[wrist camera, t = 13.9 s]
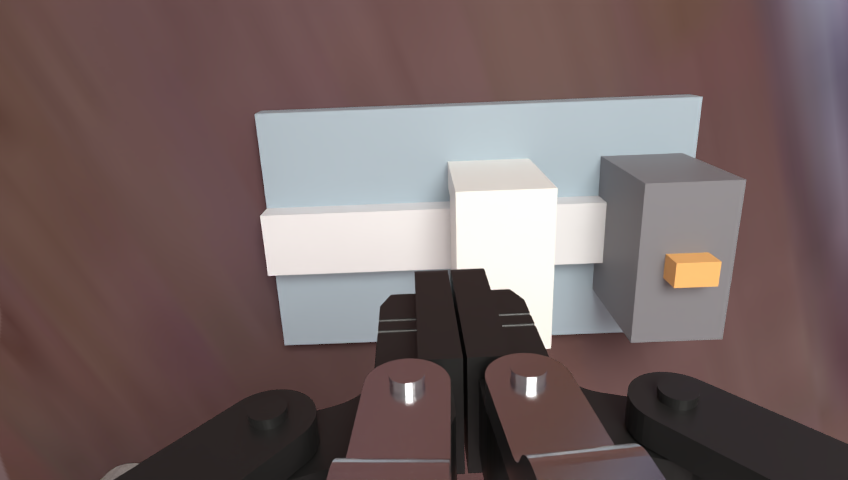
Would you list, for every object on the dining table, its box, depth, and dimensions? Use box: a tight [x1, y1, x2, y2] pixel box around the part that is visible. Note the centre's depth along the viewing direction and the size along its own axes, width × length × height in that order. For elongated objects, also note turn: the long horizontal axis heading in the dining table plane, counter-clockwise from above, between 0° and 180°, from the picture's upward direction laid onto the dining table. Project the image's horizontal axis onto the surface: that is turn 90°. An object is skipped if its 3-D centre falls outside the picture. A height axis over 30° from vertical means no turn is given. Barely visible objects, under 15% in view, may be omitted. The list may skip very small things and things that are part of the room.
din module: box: [448, 158, 558, 349], centre depth 30 cm, size 8×4×7 cm, turn 2°
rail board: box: [255, 94, 746, 345], centre depth 30 cm, size 14×24×9 cm, turn 92°
